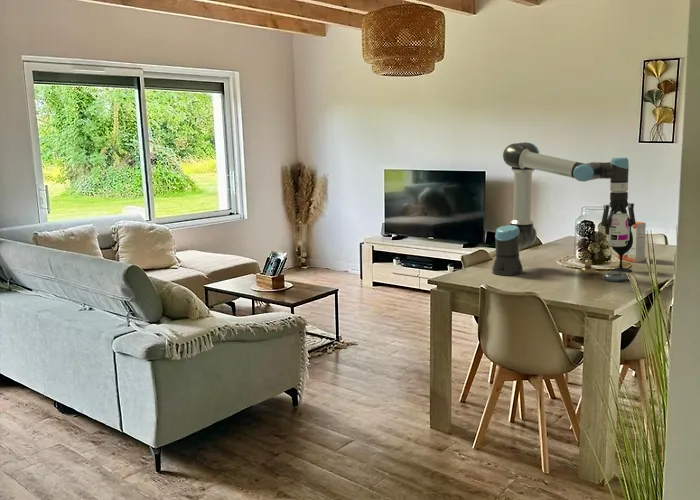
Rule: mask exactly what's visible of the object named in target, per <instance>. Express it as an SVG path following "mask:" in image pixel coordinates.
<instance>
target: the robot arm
mask: <svg viewBox="0 0 700 500" xmlns="http://www.w3.org/2000/svg"><path fill="white" fill-rule="evenodd" d="M502 157H503V161H504V163H505V164H506V165H507V166H509V167H511V171H512V172H513V173H514V181H513V210H512V211H513V212H512V213H513V215H512V219H511V220H510V221H509V224H508V225H501V226H499V227H497V228H496V229H495V235H494V237H495V259H494V262H493V265H492V271H491V272H492V274H494V275H497V276H518V275H521V274H523V273H524V269H523V265H522V262H521V258H520V249H521V250H522V249H525V248H529V247H530V246H533V244H534V243H535V241H536V239H537V230H536V229H535V227H534V221H532V220H531V212H532V211H531V209H532V208H531V206H532V183H533V181H532V177H533V176H532V175H533V172H534V171H536V170H537V171H540V172H544V173H545V172H546V173H549V174H553V175H559V176H562V177H563V176H564V177H567V178H572V179H575V180H576V181H578V182H584V183H585V182H588V181H593V180H601V179H605V180H606V179H608V180H610V183H609V185H610V187H609V189H610V190H609V191H610V193H609V201H610V202H609V203H608V204H603V213H602V218H601V223H600V225H601V227H604V234H605V235H606V242H608V241H609V242H611V227H610V225H611V223H612V216H613V214H616V213H617V212H621V213H624V214H627V215H628V240H629V234H630V233H631V226H633V225H634V224H636V222H635V221H636V216H635V203H634V202H633V203H632V202H628V199H629V192H628V190H629V171H630V170H629V169H630V165H629V159H628V158H627V157H612V158H611V159H610V161H609V162H600V161H599V162H595V161H594V162H586V163H584V162H579V161H574V160H571V159H570V160H569V159H565V158H560V157H555V156H551V155H548V154H542V153H540V150H539V148H538V147H537V146H536V145H535V144H534V143H531V142H518V143H510V144H509V145H507V146H506V147H505V149H504V150H503V153H502Z"/></svg>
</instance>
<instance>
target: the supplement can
mask: <svg viewBox="0 0 700 500" xmlns="http://www.w3.org/2000/svg"><path fill="white" fill-rule="evenodd" d="M627 214H628V213H627ZM627 214H624V213H621V212H617V213H616V214H613V216H612V223H611V225H610V227H611V242H609V241H607V243H608V245H609V246H610V247H611V246H615V247H622V246H626V245H627V243H628V216H629V214H628V215H627Z"/></svg>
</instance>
